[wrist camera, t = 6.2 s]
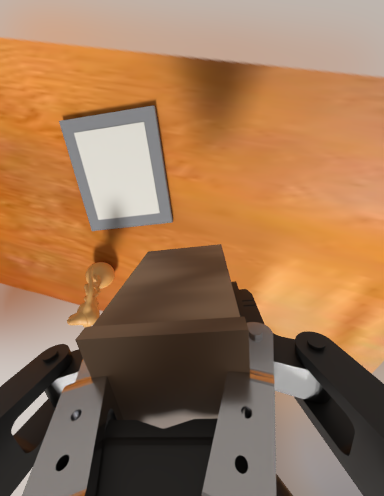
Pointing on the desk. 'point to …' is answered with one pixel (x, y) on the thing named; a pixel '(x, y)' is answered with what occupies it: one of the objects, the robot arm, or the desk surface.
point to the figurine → (92, 294)
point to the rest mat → (119, 168)
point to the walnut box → (170, 337)
